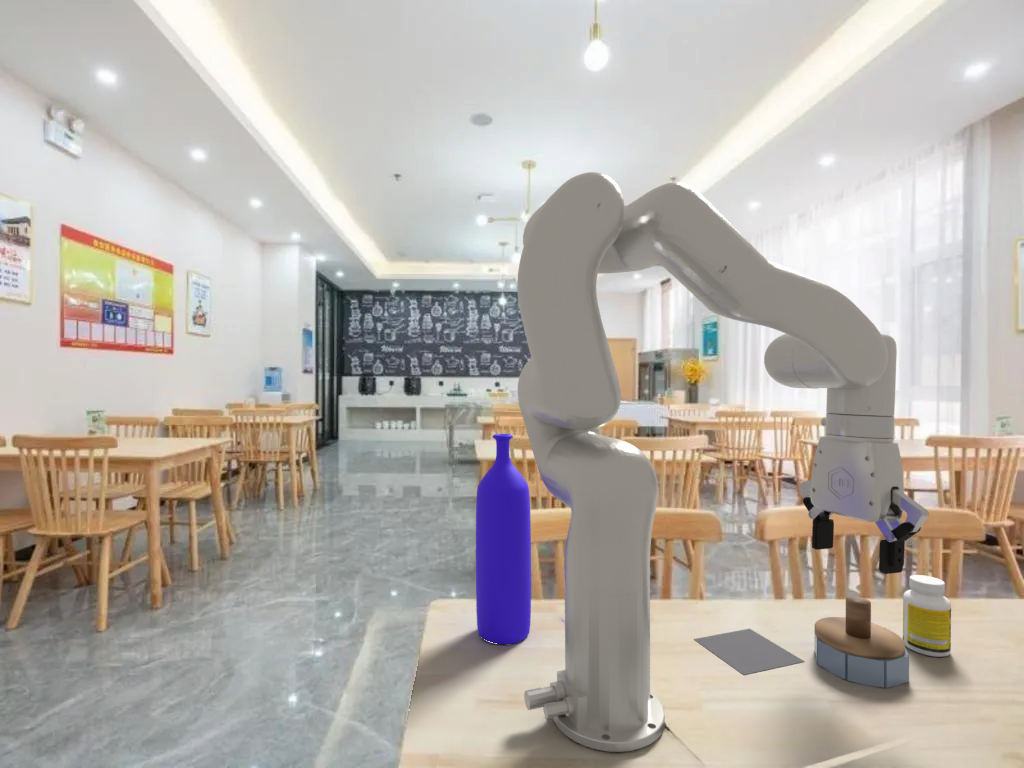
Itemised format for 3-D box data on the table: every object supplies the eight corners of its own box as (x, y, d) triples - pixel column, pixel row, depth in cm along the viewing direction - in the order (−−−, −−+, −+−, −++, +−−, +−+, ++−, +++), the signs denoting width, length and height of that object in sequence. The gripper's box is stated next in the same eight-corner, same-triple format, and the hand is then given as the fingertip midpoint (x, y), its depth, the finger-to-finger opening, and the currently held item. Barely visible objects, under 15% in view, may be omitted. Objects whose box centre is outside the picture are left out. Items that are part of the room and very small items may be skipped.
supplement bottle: (959, 660, 74) (960, 588, 73) (914, 656, 75) (915, 585, 75) (937, 641, 79) (937, 573, 79) (895, 637, 80) (895, 571, 80)
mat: (743, 679, 69) (743, 674, 69) (693, 643, 79) (693, 639, 79) (804, 665, 72) (804, 661, 72) (749, 632, 82) (749, 628, 82)
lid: (864, 665, 65) (865, 622, 65) (797, 628, 75) (797, 591, 75) (924, 651, 68) (924, 610, 68) (852, 618, 78) (852, 582, 78)
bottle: (541, 629, 83) (540, 433, 83) (512, 652, 76) (511, 438, 76) (496, 616, 88) (495, 430, 87) (465, 637, 81) (463, 435, 80)
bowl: (868, 699, 65) (868, 666, 65) (798, 659, 74) (798, 630, 74) (925, 683, 68) (925, 651, 68) (851, 646, 78) (851, 618, 78)
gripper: (783, 423, 78) (779, 542, 78) (904, 435, 62) (899, 586, 62) (823, 423, 80) (819, 539, 80) (950, 435, 64) (945, 580, 64)
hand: (854, 559), depth 71 cm, fingers open, 9 cm apart
